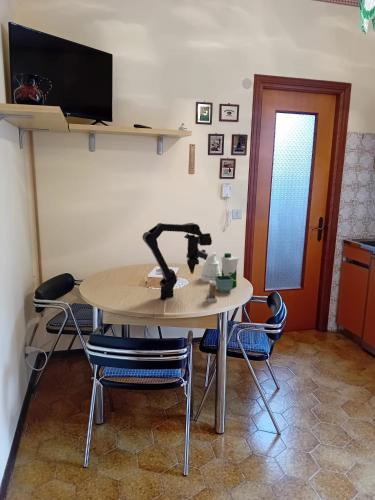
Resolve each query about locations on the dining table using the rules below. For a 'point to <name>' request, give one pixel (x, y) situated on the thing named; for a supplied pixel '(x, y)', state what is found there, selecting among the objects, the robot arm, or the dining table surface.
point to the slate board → (211, 299)
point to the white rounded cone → (210, 269)
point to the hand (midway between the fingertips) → (192, 273)
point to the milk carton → (230, 267)
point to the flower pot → (224, 283)
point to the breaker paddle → (212, 289)
